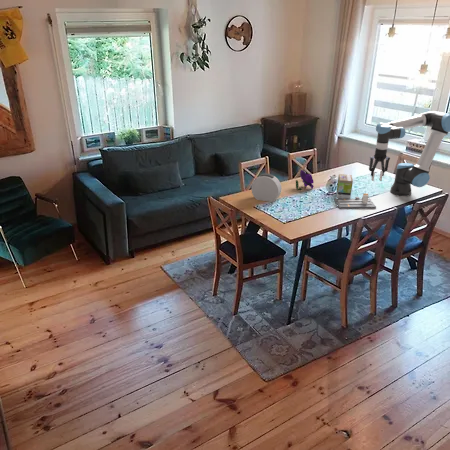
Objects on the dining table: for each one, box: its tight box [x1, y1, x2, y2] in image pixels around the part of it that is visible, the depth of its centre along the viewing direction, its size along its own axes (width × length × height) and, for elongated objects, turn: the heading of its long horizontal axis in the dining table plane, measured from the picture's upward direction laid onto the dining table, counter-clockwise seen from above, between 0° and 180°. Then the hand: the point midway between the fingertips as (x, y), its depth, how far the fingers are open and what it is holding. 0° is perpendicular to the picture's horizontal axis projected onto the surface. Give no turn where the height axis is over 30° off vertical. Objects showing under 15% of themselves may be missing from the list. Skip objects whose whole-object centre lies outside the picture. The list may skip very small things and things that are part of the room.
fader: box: [361, 193, 369, 203], centre depth 306 cm, size 3×3×7 cm
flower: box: [295, 169, 315, 191], centre depth 334 cm, size 15×15×14 cm
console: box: [334, 196, 377, 210], centre depth 307 cm, size 26×15×3 cm, turn 89°
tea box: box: [336, 173, 354, 199], centre depth 321 cm, size 15×10×15 cm, turn 168°
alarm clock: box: [251, 173, 283, 203], centre depth 314 cm, size 21×8×20 cm, turn 65°
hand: (376, 180), depth 300 cm, fingers open, 5 cm apart
